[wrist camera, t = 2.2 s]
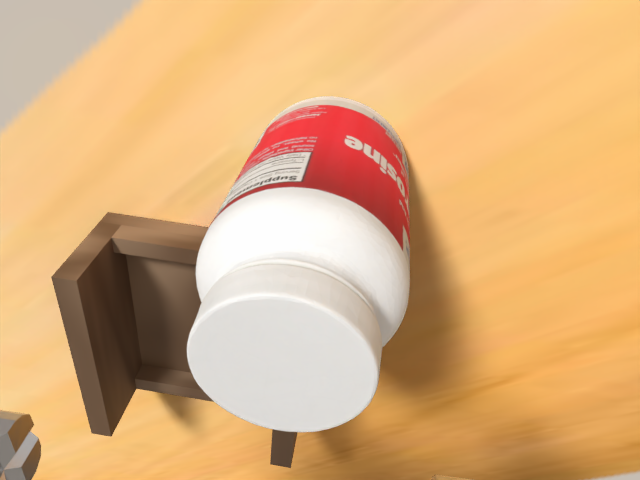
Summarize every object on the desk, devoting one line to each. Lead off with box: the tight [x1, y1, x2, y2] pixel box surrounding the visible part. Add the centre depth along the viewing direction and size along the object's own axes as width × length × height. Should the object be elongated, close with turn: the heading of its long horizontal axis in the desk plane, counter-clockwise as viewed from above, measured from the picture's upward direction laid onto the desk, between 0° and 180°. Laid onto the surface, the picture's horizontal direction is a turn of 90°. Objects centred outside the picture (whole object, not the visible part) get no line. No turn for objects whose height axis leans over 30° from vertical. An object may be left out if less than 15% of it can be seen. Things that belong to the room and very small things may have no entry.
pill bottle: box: [187, 96, 410, 432], centre depth 17 cm, size 6×6×11 cm
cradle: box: [52, 212, 297, 468], centre depth 25 cm, size 10×10×5 cm
